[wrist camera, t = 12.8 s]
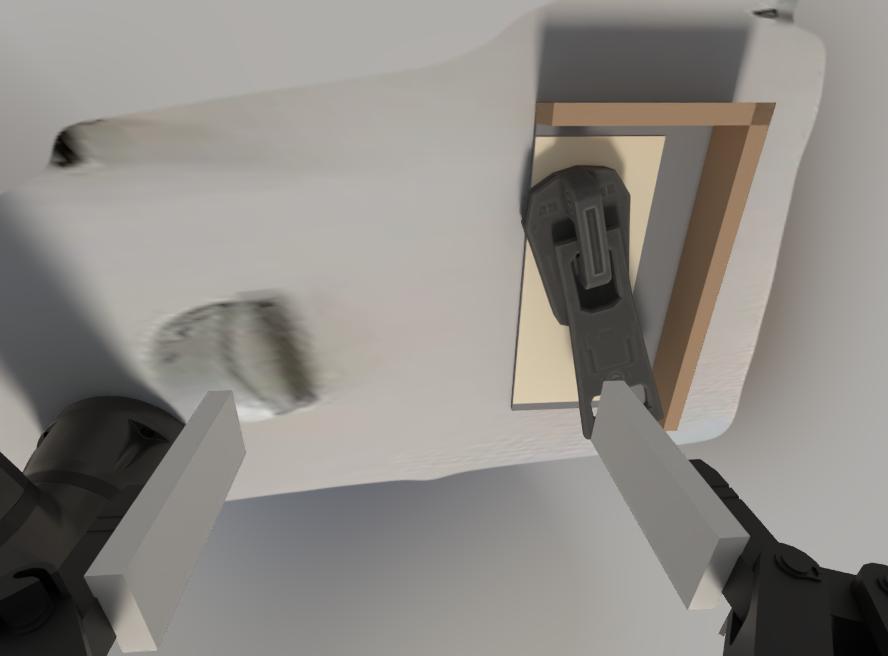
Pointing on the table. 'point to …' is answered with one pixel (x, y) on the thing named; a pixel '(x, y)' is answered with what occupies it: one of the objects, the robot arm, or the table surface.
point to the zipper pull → (590, 278)
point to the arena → (646, 232)
